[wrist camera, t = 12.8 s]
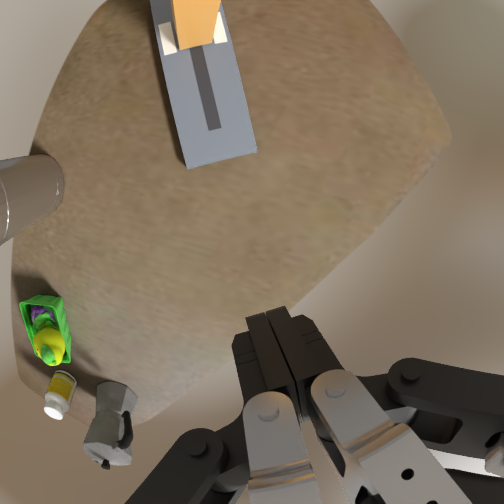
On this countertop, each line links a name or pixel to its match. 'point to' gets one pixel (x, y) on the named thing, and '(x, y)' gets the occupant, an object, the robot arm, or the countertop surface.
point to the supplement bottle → (59, 394)
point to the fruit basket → (47, 328)
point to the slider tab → (194, 21)
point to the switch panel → (204, 92)
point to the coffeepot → (111, 425)
